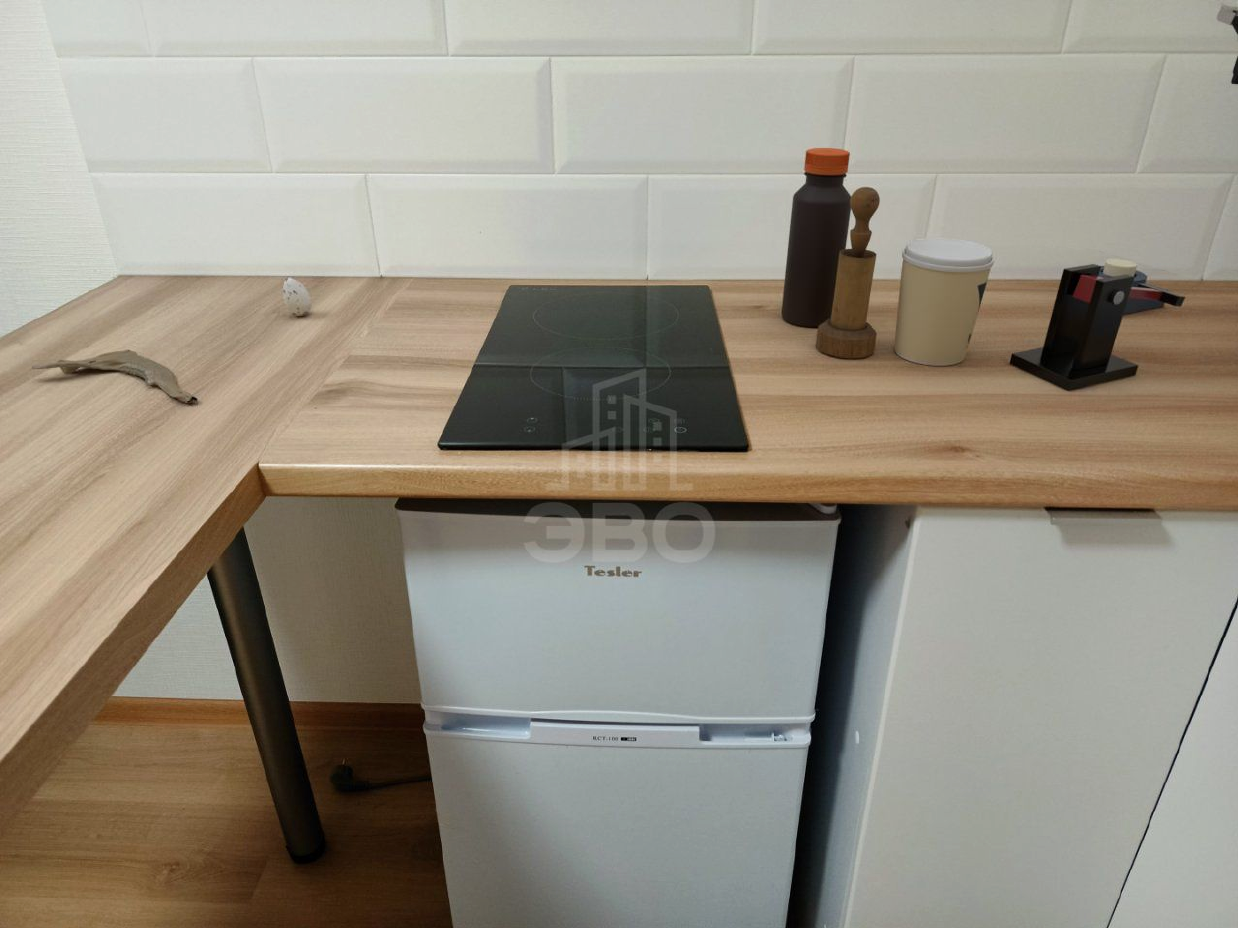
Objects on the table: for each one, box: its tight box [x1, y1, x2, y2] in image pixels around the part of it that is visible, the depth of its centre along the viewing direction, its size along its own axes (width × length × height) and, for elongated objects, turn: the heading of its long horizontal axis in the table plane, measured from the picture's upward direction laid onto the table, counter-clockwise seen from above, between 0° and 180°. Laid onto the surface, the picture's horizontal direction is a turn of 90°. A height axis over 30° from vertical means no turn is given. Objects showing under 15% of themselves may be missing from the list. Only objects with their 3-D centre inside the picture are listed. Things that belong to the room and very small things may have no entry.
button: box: [1103, 258, 1138, 277], centre depth 111 cm, size 4×4×2 cm
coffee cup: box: [894, 237, 995, 367], centre depth 95 cm, size 9×9×12 cm
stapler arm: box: [1072, 275, 1186, 307], centre depth 92 cm, size 13×5×2 cm, turn 114°
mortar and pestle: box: [815, 186, 881, 359], centre depth 94 cm, size 7×6×18 cm
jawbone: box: [31, 349, 199, 404], centre depth 91 cm, size 9×20×2 cm, turn 73°
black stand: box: [1009, 263, 1139, 392], centre depth 91 cm, size 10×8×11 cm
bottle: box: [781, 147, 852, 328], centre depth 103 cm, size 7×7×20 cm
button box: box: [1099, 265, 1169, 316], centre depth 112 cm, size 10×8×4 cm
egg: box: [282, 276, 313, 317], centre depth 107 cm, size 3×3×5 cm
